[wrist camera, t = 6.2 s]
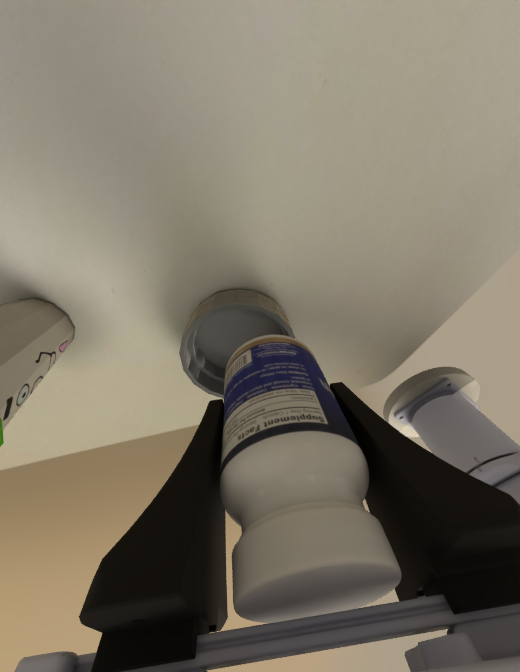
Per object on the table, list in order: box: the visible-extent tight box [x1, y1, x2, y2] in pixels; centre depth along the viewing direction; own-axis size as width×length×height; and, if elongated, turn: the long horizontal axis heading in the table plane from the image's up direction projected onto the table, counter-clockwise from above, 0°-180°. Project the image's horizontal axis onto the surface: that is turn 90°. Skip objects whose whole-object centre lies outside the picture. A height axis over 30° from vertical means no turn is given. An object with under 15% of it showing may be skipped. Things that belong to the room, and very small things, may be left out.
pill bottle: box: [220, 335, 402, 623], centre depth 11 cm, size 6×6×10 cm
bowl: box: [179, 289, 295, 398], centre depth 20 cm, size 9×9×4 cm
